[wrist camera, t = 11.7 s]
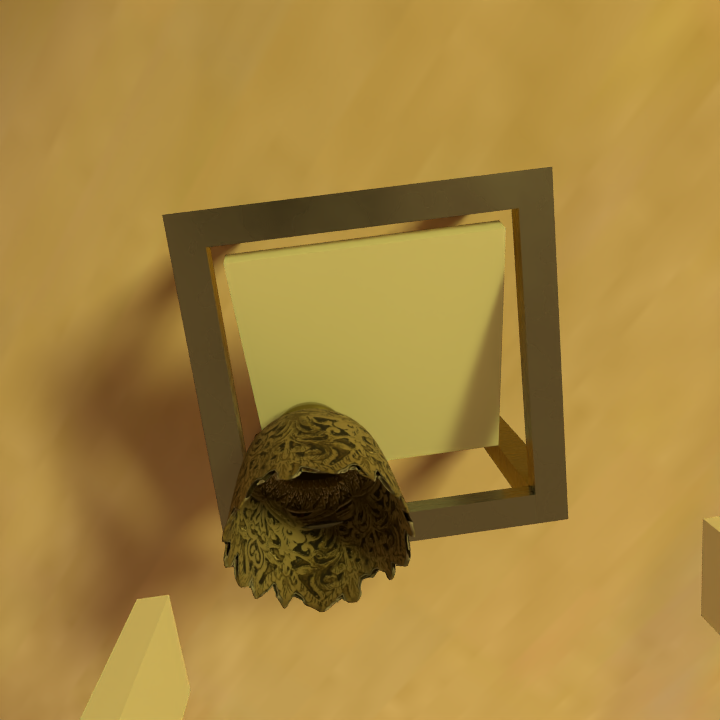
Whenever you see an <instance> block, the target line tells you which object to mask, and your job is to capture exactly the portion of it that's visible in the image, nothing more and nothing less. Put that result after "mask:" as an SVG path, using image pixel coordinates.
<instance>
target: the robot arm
mask: <svg viewBox="0 0 720 720" xmlns="http://www.w3.org/2000/svg"><path fill="white" fill-rule="evenodd" d="M701 616H702V617H703V618H704V619H705V620H706V621H707V622H708V623H709V624H710V625H711V626H712V627H713V628H714V629H715V631H716V632H717V633H718V634H719V635H720V516H718V517H711V518H704V519H703V541H702V597H701ZM189 694H190V686H189V682H188V677H187V673H186V668H185V664H184V659H183V655H182V651H181V646H180V642H179V637H178V633H177V628H176V624H175V619H174V615H173V610H172V606H171V602H170V597H169V595H163V596H156V597H149V598H142V599H137V600H136V602H135V604H134V606H133V608H132V611H131V613H130V615H129V617H128V619H127V621H126V623H125V625H124V627H123V630H122V632H121V634H120V636H119V638H118V640H117V642H116V644H115V646H114V649H113V651H112V653H111V655H110V657H109V659H108V661H107V663H106V665H105V667H104V670H103V672H102V674H101V676H100V678H99V680H98V682H97V684H96V686H95V689H94V691H93V693H92V695H91V697H90V699H89V701H88V703H87V705H86V707H85V710H84V712H83V714H82V716H81V718H80V720H183V716H184V712H185V709H186V705H187V701H188V698H189Z"/></svg>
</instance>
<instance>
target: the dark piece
mask: <svg viewBox="0 0 720 720" xmlns="http://www.w3.org/2000/svg"><path fill="white" fill-rule="evenodd" d="M409 512H410V511H409V509H408V506H407V504H406V502H405V500H404V498H403V495H402V493H401V491H400V488H399V486H398V484H397V482H396V479H395V477H394V475H393V473H392V471H391V468H390V466H389V464H388V462H387V460H386V458H385V456H384V454H383V452H382V451H381V449H380V447H379V446H378V444H377V442H376V441H375V440H374V438H373V437H372V436H371V434H370V433H369V432H368V431H367V430H366V429H365V428H364V427H363V426H362V425H360V424H359V423H358V422H356V421H355V420H353V419H352V418H350V417H348V416H346V415H344V414H341V413H339V412H336V411H335V410H334V409H332V408H331V407H329V406H327V405H325V404H322V403H317V402H304V403H300V404H296V405H294V406H292V407H290V408H289V409H287V410H286V411H285V412H284V413H283V414H282V415H281V416H280V417H279V418H278V419H276V420H274V421H273V422H271V423H270V424H268V425H267V426H266V427H265V428H264V429H263V430H262V431H261V432H260V433H259V434H258V435H257V436H256V438H255V439H254V440H253V442H252V443H251V445H250V447H249V449H248V451H247V452H246V454H245V457H244V459H243V462H242V465H241V467H240V470H239V474H238V477H237V481H236V485H235V489H234V493H233V497H232V501H231V506H230V510H229V514H228V519H227V523H226V526H225V528H224V531H223V536H222V542H225V544H226V546H225V552H224V566H225V568H228V567H231V566H232V565H233V562H234V574H235V579H236V581H237V583H238V585H239V586H240V587H247V586H249V588H251V590H252V593H253V596H254V597H255V599H258V598H259V597H261V596H262V595H263V594H265V593H266V592H268V591H269V590H270V589H271V587H272V586H273V587H274V591H275V593H276V597H277V598H278V600H279V601H280V603H281V605H282V607H283V608H286V607H287V606H288V604H289V602H290V601H291V599H292V597H296V598H299V599H300V600H302V601H303V603H304V604H305V605H306V606H309V607H311V608H314V609H316V610H317V611H319V612H325V611H327V610H328V609H329V608H330V607H331V606H333V605H334V604H335V603H336V602H338V601H339V600H341V599H343V600H344V601H347V602H348V603H353V602H357V601H358V600H359V599H360V597H361V594H362V592H361V583H362V580H364V579H365V578H369V577H370V578H373V577H374V576H375V575H376V573H377V572H378V570H380V571H382V572H385V573H386V575H387V578H388V579H389V580H392V579H393V578H394V575H395V564H398V565H396V566H404V567H405V566H408V563H409V561H410V555H411V554H410V543H409V535H410V536H411V537H415V530H414V526H413V521H412V520H411V518H410V515H409ZM326 520H338V521H345V522H343V523H340V524H338V525H335V526H332V527H328V528H323V529H306V528H301V527H303V526H305V525H308V524H311V523H314V522H319V521H326ZM376 571H377V572H376Z"/></svg>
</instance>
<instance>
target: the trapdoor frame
mask: <svg viewBox="0 0 720 720" xmlns="http://www.w3.org/2000/svg"><path fill="white" fill-rule="evenodd" d="M508 209H512V223H513V239H514V255H515V271H516V288H517V304H518V320H519V337H520V353H521V369H522V385H523V402H524V418H525V434H526V444H525V443H524V442H523V441H522V440H521V439H520V438H519V436H518V435H517V434H516V433H515V432H514V431H513V430H512V429H511V428H510V426H509V425H508V424H507V423H506V422H505V421H504V420H503V419H502V418H501V416H500V415H499V442H498V445H496V446H489V447H484V448H485V450H486V451H487V453H488V454H489V456H490V457H491V458H492V460H493V461H494V463H495V464H496V465H497V467H498V468H499V470H500V471H501V473H502V474H503V475H504V477H505V478H506V480H507V481H508V482H509V484H510V485H511V487H512V488H508V489H501V490H494V491H486V492H479V493H472V494H465V495H458V496H451V497H444V498H437V499H429V500H422V501H415V502H408V503H406V504H407V506H408V509H409V511H410V512H409V515H410V518H411V520H412V521H413V526H414V530H415V537H411V536H410V535H409V542H410V541H417V540H424V539H431V538H438V537H445V536H452V535H459V534H466V533H473V532H480V531H487V530H494V529H501V528H508V527H515V526H522V525H529V524H536V523H543V522H550V521H558V520H565V519H568V505H567V483H566V461H565V439H564V418H563V396H562V374H561V352H560V330H559V308H558V286H557V264H556V242H555V220H554V198H553V177H552V167H547V168H538V169H530V170H522V171H514V172H506V173H498V174H490V175H482V176H474V177H466V178H457V179H449V180H441V181H433V182H425V183H417V184H409V185H401V186H393V187H385V188H377V189H368V190H360V191H352V192H344V193H336V194H328V195H320V196H312V197H304V198H296V199H288V200H279V201H271V202H263V203H255V204H247V205H239V206H231V207H223V208H215V209H207V210H199V211H190V212H182V213H174V214H166V215H162V216H163V221H164V226H165V231H166V237H167V242H168V247H169V252H170V257H171V263H172V268H173V273H174V278H175V284H176V289H177V294H178V299H179V304H180V310H181V315H182V320H183V325H184V331H185V336H186V341H187V346H188V351H189V357H190V362H191V367H192V372H193V378H194V383H195V388H196V393H197V398H198V404H199V409H200V414H201V419H202V424H203V430H204V435H205V440H206V445H207V451H208V456H209V461H210V466H211V471H212V477H213V482H214V487H215V492H216V498H217V503H218V508H219V513H220V518H221V524H222V529H223V531H224V528H225V526H226V523H227V519H228V514H229V510H230V506H231V501H232V497H233V493H234V489H235V485H236V481H237V477H238V474H239V470H240V467H241V465H242V462H243V459H244V457H245V454H246V448H245V443H244V437H243V431H242V426H241V420H240V414H239V409H238V403H237V397H236V392H235V386H234V380H233V374H232V369H231V363H230V357H229V352H228V346H227V340H226V335H225V329H224V323H223V318H222V312H221V306H220V301H219V295H218V289H217V283H216V278H215V272H214V266H213V261H212V255H211V249H210V247H213V246H221V245H229V244H237V243H245V242H253V241H261V240H269V239H277V238H285V237H293V236H301V235H309V234H317V233H325V232H333V231H341V230H349V229H356V228H364V227H372V226H380V225H388V224H396V223H404V222H412V221H420V220H428V219H436V218H444V217H452V216H460V215H468V214H476V213H484V212H492V211H500V210H508ZM257 435H258V434H256V435H255V438H256V436H257ZM343 522H345V521H338V520H326V521H319V522H314V523H311V524H308V525H305V526H303V527H301V528H306V529H323V528H328V527H332V526H335V525H338V524H340V523H343ZM225 545H226V544H225ZM231 567H234V562H233V565H232V566H231Z"/></svg>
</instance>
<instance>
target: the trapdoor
mask: <svg viewBox="0 0 720 720" xmlns="http://www.w3.org/2000/svg"><path fill="white" fill-rule="evenodd" d="M505 236H506V228H505V227H504V226H503V224H502V223H501V222H500V221H499V220H498V221H490V222H482V223H474V224H466V225H458V226H450V227H443V228H435V229H427V230H419V231H411V232H403V233H395V234H387V235H379V236H371V237H363V238H355V239H347V240H339V241H331V242H324V243H316V244H308V245H300V246H292V247H284V248H276V249H268V250H260V251H252V252H244V253H236V254H228V255H225V259H224V269H225V273H226V277H227V282H228V286H229V290H230V295H231V299H232V303H233V308H234V312H235V316H236V321H237V325H238V329H239V334H240V338H241V342H242V347H243V351H244V355H245V360H246V364H247V368H248V373H249V377H250V381H251V386H252V390H253V394H254V399H255V403H256V407H257V412H258V416H259V420H260V425H261V429H262V430H263V429H264V428H265V427H266V426H267V425H268V424H270V423H271V422H273V421H274V420H276V419H278V418H279V417H280V416H281V415H282V414H283V413H284V412H285V411H286V410H287V409H289V408H290V407H292V406H294V405H296V404H300V403H304V402H317V403H322V404H325V405H327V406H329V407H331V408H332V409H334V410H335V411H336V412H339V413H341V414H344V415H346V416H348V417H350V418H352V419H353V420H355V421H356V422H358V423H359V424H360V425H362V426H363V427H364V428H365V429H366V430H367V431H368V432H369V433H370V434H371V436H372V437H373V438H374V440H375V441H376V442H377V444H378V446H379V447H380V449H381V451H382V452H383V454H384V456H385V458H386V460H394V459H402V458H409V457H416V456H423V455H431V454H438V453H445V452H452V451H460V450H467V449H474V448H481V447H489V446H496V445H498V442H499V412H500V383H501V354H502V324H503V295H504V266H505Z"/></svg>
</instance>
